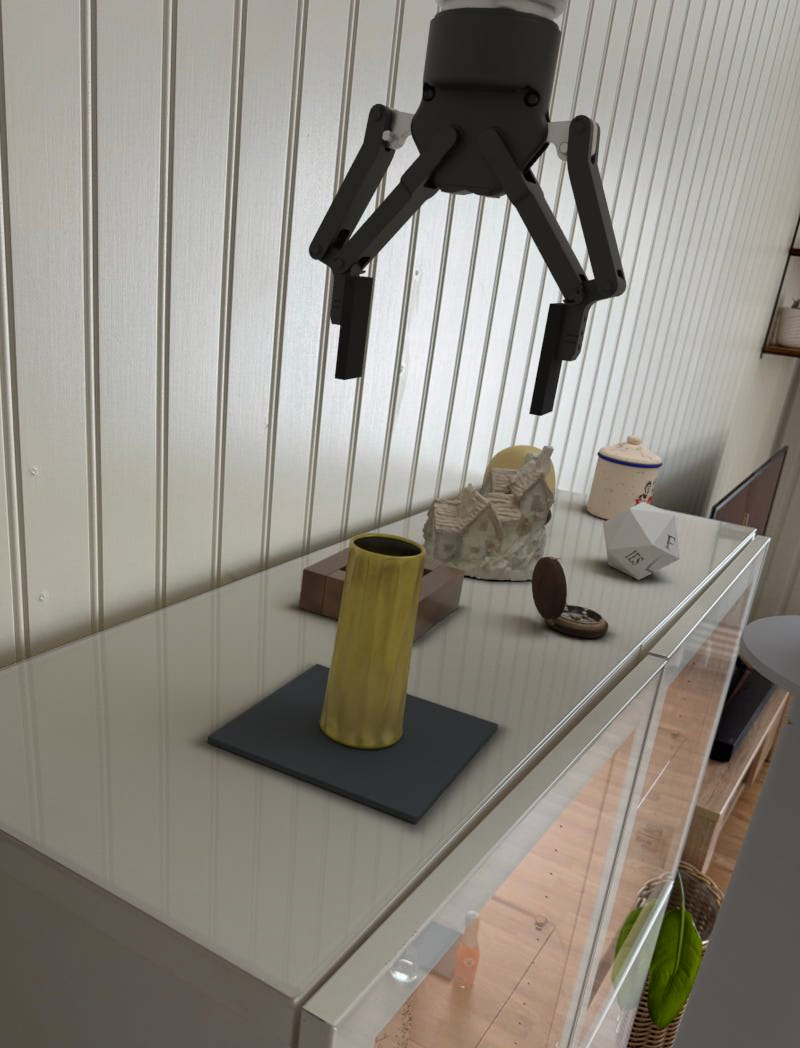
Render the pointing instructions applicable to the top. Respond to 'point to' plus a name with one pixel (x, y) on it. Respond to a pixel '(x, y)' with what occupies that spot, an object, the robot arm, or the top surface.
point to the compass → (562, 602)
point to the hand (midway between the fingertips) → (440, 395)
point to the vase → (373, 641)
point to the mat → (360, 774)
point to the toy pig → (519, 464)
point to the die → (641, 540)
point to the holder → (434, 601)
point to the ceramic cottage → (494, 523)
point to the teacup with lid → (623, 478)
